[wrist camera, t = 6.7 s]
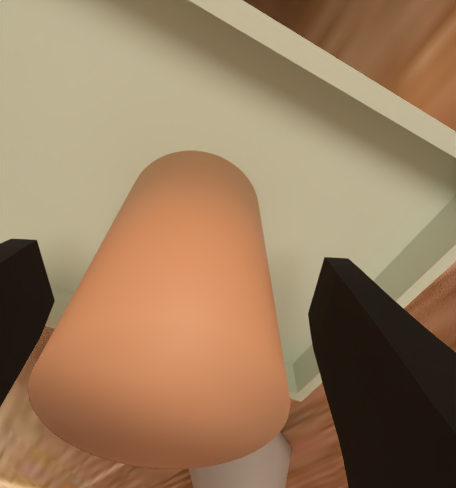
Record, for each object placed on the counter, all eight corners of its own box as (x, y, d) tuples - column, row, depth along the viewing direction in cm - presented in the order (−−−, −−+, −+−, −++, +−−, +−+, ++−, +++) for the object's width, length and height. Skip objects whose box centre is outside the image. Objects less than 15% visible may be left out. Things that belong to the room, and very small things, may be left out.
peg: (265, 153, 10) (311, 328, 5) (253, 266, 13) (274, 470, 7) (121, 147, 10) (-14, 319, 5) (137, 262, 13) (62, 467, 7)
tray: (483, 153, 11) (539, 183, 9) (292, 355, 18) (301, 401, 15) (-31, -163, 7) (-130, -230, 5) (-48, 242, 14) (-98, 284, 11)
